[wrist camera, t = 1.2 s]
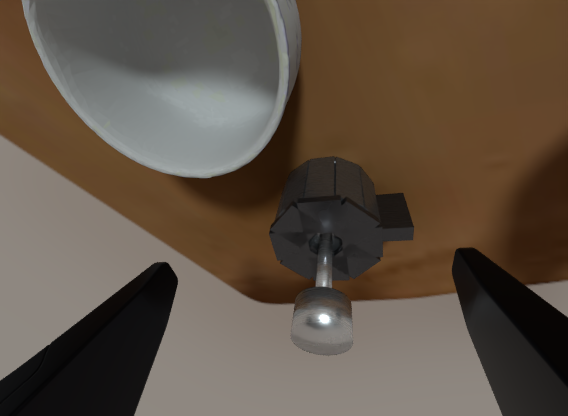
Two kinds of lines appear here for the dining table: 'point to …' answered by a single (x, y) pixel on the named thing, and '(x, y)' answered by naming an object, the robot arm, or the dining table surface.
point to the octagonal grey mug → (336, 218)
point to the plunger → (323, 307)
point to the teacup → (173, 75)
